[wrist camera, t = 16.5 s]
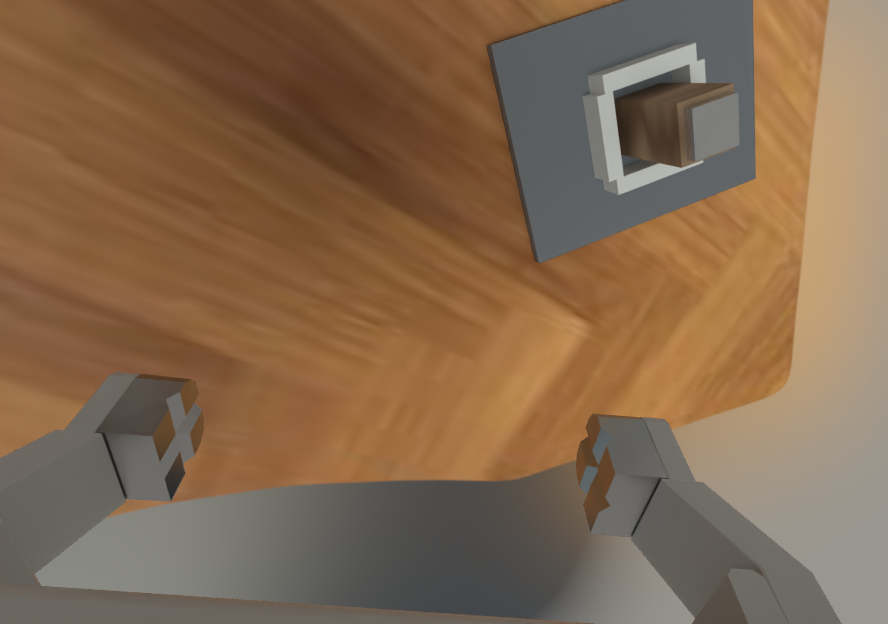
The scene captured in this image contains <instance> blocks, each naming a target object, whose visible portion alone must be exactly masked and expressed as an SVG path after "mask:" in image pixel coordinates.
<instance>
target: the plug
mask: <svg viewBox="0 0 888 624" xmlns="http://www.w3.org/2000/svg"><path fill="white" fill-rule="evenodd" d="M614 104H615V112H616V120H617V127H618V135H619V143H620V150H621V155H624V156H629V157H633V158H638V159H643V160H647V161H652V162H656V163H661V164H665V165H670V166H675V167H679V168H683V167H686V166H689V165H691V164H694V163H697V162H699V161H702V160H705V159H707V158H710V157H713V156H715V155H718V154H721V153H723V152H726V151H729V150H731V149H734V148H736V146H738V145H739V102H738V92H734V83H658V84H655V85H652V86H649V87H647V88H644V89H641V90H638V91H635V92H632V93H629V94H627V95H624V96H621V97H618V98H615V99H614Z"/></svg>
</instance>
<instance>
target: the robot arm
mask: <svg viewBox="0 0 888 624" xmlns="http://www.w3.org/2000/svg"><path fill="white" fill-rule="evenodd" d="M198 395H199V393H198V389H197V385H196V382H195V381H193V380H191V379H184V378H175V377H166V376H157V375H147V374H133V373H124V372H115V373H113V374H111V375H109V376H108V377H107V378H106V380H105V381H104V382H103V383H102V385H101V386H100V387H99V388H98V389H97V391H96V392H95V393H94V394H93V396H92V397H91V398H90V399H89V400H88V402H87V403H86V404H85V405H84V407H83V408H82V409H81V410H80V411H79V413H78V414H77V415H76V416H75V418H74V419H73V420H72V421H71V422H70V424H69V425H68V426H67V427H66V429H65V430H55V431H53V432H51V433H49V434H47V435H45V436H43V437H41V438H39V439H37V440H35V441H33V442H31V443H29V444H27V445H25V446H23V447H21V448H19V449H17V450H15V451H13V452H11V453H9V454H8V455H6V456H4V457H2V458H0V624H593V623H578V622H562V621H548V620H547V621H546V620H533V619H518V618H503V617H488V616H474V615H459V614H444V613H429V612H413V611H400V610H384V609H370V608H356V607H354V608H353V607H341V606H327V605H311V604H297V603H283V602H267V601H254V600H239V599H224V598H210V597H195V596H181V595H166V594H165V595H164V594H151V593H137V592H121V591H107V590H93V589H78V588H63V587H49V586H41V585H40V583H39V581H38V580H37V578H36V576H35V573H37V572H38V571H39V570H40V569H42V568H43V567H44V566H45V565H47V564H48V563H49V562H50V561H52V560H53V559H54V558H55V557H57V556H58V555H59V554H60V553H62V552H63V551H64V550H65V549H67V548H68V547H69V546H70V545H72V544H73V543H74V542H76V541H77V540H78V539H79V538H81V537H82V536H83V535H84V534H86V533H87V532H88V531H89V530H91V529H92V528H93V527H94V526H96V525H97V524H98V523H99V522H101V521H102V520H103V519H105V518H106V517H107V516H108V515H110V514H111V513H112V512H113V511H115V510H116V509H117V508H118V507H120V506H121V505H122V504H123V503H125V502H126V500H125V499H134V500H155V501H171V500H172V498H173V496H174V494H175V492H176V490H177V489H178V487H179V485H180V483H181V481H182V479H183V477H184V475H185V470H184V466H183V463H184V462H186V461H187V460H189V459H190V458H192V457H193V456H195V453H196V451H197V449H198V447H199V445H200V442H201V438H202V434H203V430H204V418H203V412H202V410H201V409H200V408H199V407H198V406H197V405H196V404H195V403H194V402H195V400H196V398H197V396H198ZM586 430H587V433H588V437H587V438H585V439H584V440H582V441H581V442H580V445H579V448H578V452H577V459H576V473H577V479H578V484H579V487H580V488H581V489H582V490H583V491H584V492H585V493H586V494H587V497H586V499H585V502H584V504H583V505H584V509H585V513H586V517H587V522H588V526H589V530H590V533H593V534H603V535H613V536H622V537H632V539H631V540H632V541H633V542H634V544H635V545H636V546H637V547H638V549H639V550H640V551H641V552H642V553H643V555H644V556H645V557H646V558H647V560H648V561H649V562H650V563H651V564H652V566H653V567H654V568H655V569H656V571H657V572H658V573H659V574H660V576H661V577H662V578H663V579H664V580H665V582H666V583H667V584H668V585H669V587H670V588H671V589H672V590H673V592H674V593H675V594H676V595H677V596H678V598H679V599H680V600H681V601H682V603H683V604H684V605H685V606H686V607H687V609H688V610H689V611H690V612H691V614H692V615H693V616H694V617H695V620H694V622H693V623H692V624H841V622H840V620H839V618H838V617H837V616H836V613H835V612H834V610H833V608H832V606H831V605H830V603H829V601H828V599H827V598H826V596H825V594H824V592H823V591H822V589H821V587H820V585H819V584H818V582H817V581H816V579H815V577H814V575H813V573H812V572H810V571H809V570H808V569H807V568H806V567H804V566H803V565H802V564H801V563H800V562H799V561H797V560H796V559H795V558H794V557H792V556H791V555H790V554H788V552H786V551H785V550H784V549H783V548H782V547H780V546H779V545H778V544H777V543H775V542H774V541H773V540H772V539H771V538H769V537H768V536H767V535H766V534H765V533H763V532H762V531H761V530H760V529H759V528H757V527H756V526H755V525H754V524H752V523H751V522H750V521H749V520H748V519H746V518H745V517H744V516H743V515H741V514H740V513H739V512H738V511H737V510H736V509H734V508H733V507H732V506H731V505H730V504H728V503H727V502H726V501H725V500H724V499H722V498H721V497H720V496H719V495H718V494H716V493H715V492H714V491H712V490H711V489H710V488H709V487H708V486H707V485H705V484H704V483H703V482H696V481H695V479H694V477H693V475H692V473H691V471H690V468H689V466H688V464H687V462H686V460H685V458H684V456H683V454H682V451H681V449H680V447H679V445H678V443H677V441H676V438H675V436H674V434H673V432H672V430H671V428H670V426H669V423H668V422H667V421H666V420H665V419H658V418H644V417H640V418H638V417H629V416H616V415H603V414H592V415H591V416H590V418H589V420H588V422H587V425H586Z"/></svg>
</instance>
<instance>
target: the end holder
mask: <svg viewBox="0 0 888 624" xmlns="http://www.w3.org/2000/svg"><path fill="white" fill-rule="evenodd" d="M487 49H488V54H489V58H490V63H491V67H492V72H493V76H494V80H495V85H496V89H497V94H498V98H499V103H500V107H501V112H502V116H503V121H504V125H505V130H506V134H507V139H508V143H509V147H510V152H511V156H512V161H513V165H514V170H515V174H516V179H517V183H518V188H519V192H520V197H521V201H522V206H523V210H524V215H525V219H526V223H527V228H528V232H529V237H530V241H531V246H532V250H533V255H534V259H535V261H536V262H538V263H541V262H544V261H547V260H549V259H552V258H554V257H557V256H559V255H562V254H564V253H567V252H570V251H572V250H575V249H577V248H580V247H582V246H585V245H587V244H590V243H592V242H595V241H598V240H600V239H603V238H605V237H608V236H610V235H613V234H615V233H618V232H620V231H623V230H626V229H628V228H631V227H633V226H636V225H638V224H641V223H643V222H646V221H648V220H651V219H654V218H656V217H659V216H661V215H664V214H666V213H669V212H671V211H674V210H677V209H679V208H682V207H684V206H687V205H689V204H692V203H694V202H697V201H699V200H702V199H705V198H707V197H710V196H712V195H715V194H717V193H720V192H722V191H725V190H727V189H730V188H733V187H735V186H738V185H740V184H743V183H745V182H748V181H750V180H753V179H755V178H756V174H755V111H754V48H753V0H623V1H620V2H617V3H614V4H611V5H608V6H605V7H602V8H599V9H596V10H593V11H590V12H587V13H584V14H581V15H578V16H575V17H572V18H569V19H566V20H563V21H560V22H557V23H554V24H551V25H548V26H545V27H542V28H539V29H536V30H533V31H530V32H527V33H524V34H521V35H518V36H515V37H512V38H509V39H506V40H503V41H500V42H497V43H494V44H491V45H488V46H487ZM658 83H734V92H738V102H739V145H738V146H736V148H734V149H731V150H729V151H726V152H723V153H721V154H718V155H715V156H713V157H710V158H707V159H705V160H702V161H699V162H697V163H694V164H691V165H689V166H686V167H683V168H679V167H675V166H670V165H665V164H661V163H656V162H652V161H647V160H643V159H638V158H633V157H629V156H624V155H621V150H620V143H619V135H618V127H617V120H616V112H615V104H614V99H615V98H618V97H621V96H624V95H627V94H629V93H632V92H635V91H638V90H641V89H644V88H647V87H649V86H652V85H655V84H658Z"/></svg>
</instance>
